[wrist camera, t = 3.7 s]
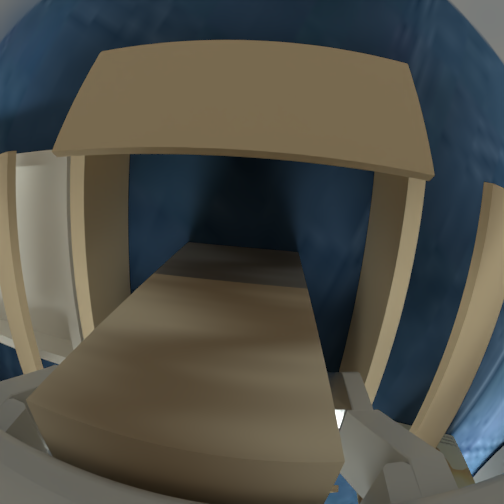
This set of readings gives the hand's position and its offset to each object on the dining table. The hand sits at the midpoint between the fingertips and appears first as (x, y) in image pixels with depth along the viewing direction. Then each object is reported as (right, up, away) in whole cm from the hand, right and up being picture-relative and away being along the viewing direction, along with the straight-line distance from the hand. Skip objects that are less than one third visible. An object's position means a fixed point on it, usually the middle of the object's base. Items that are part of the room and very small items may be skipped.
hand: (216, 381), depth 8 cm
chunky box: (0, +2, +5) cm, 6 cm away
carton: (0, +1, +5) cm, 6 cm away
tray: (-11, +4, +6) cm, 13 cm away
